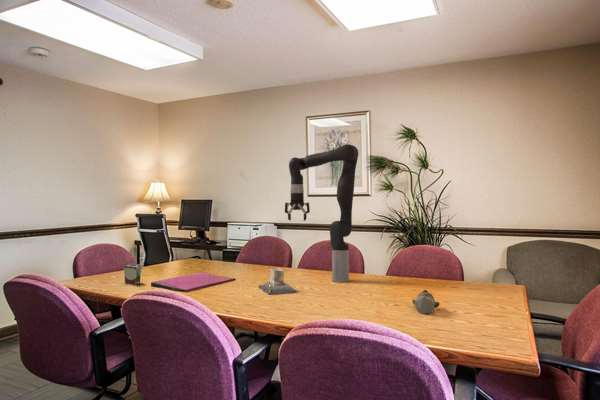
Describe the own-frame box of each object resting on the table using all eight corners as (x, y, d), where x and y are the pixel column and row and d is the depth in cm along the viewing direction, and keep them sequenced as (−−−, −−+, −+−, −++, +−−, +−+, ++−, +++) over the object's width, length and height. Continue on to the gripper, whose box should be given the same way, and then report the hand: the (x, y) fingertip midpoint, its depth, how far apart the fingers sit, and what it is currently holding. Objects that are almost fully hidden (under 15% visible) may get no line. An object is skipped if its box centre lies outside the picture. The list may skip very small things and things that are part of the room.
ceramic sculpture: (409, 291, 156) (413, 286, 170) (409, 314, 156) (413, 306, 170) (438, 293, 152) (439, 288, 166) (438, 317, 152) (439, 309, 166)
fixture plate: (284, 285, 211) (284, 277, 211) (296, 292, 194) (296, 284, 194) (258, 287, 206) (258, 279, 206) (268, 294, 190) (268, 286, 190)
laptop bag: (201, 269, 241) (235, 275, 226) (201, 276, 241) (235, 282, 226) (143, 280, 207) (179, 287, 192) (143, 288, 207) (179, 295, 192)
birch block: (279, 285, 205) (279, 268, 205) (283, 288, 198) (283, 270, 198) (270, 286, 203) (270, 268, 203) (274, 289, 196) (274, 271, 196)
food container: (147, 283, 217) (147, 265, 218) (137, 285, 212) (137, 266, 212) (133, 281, 224) (133, 263, 224) (123, 283, 219) (123, 264, 219)
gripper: (283, 192, 229) (283, 220, 229) (308, 192, 227) (308, 220, 227) (286, 192, 236) (286, 220, 236) (310, 192, 234) (310, 220, 234)
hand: (297, 220), depth 231 cm, fingers open, 8 cm apart
